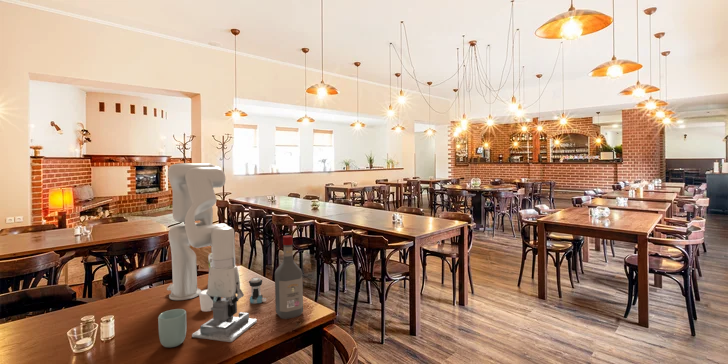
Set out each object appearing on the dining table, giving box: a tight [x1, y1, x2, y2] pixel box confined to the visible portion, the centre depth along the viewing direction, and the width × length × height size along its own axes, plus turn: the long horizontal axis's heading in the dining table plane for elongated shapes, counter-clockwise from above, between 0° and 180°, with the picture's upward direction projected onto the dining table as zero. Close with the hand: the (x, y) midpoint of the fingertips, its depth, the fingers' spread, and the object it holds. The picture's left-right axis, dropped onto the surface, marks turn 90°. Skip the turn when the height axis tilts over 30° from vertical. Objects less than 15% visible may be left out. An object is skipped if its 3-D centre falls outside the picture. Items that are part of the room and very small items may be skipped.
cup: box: [157, 308, 188, 348], centre depth 111 cm, size 8×8×10 cm
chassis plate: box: [191, 311, 258, 343], centre depth 122 cm, size 15×15×4 cm
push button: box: [248, 277, 267, 304], centre depth 145 cm, size 7×5×10 cm
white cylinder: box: [198, 288, 213, 312], centre depth 139 cm, size 7×7×7 cm
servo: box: [211, 297, 238, 321], centre depth 121 cm, size 4×9×6 cm, turn 166°
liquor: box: [274, 234, 304, 320], centre depth 133 cm, size 9×9×30 cm
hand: (225, 314), depth 121 cm, fingers closed on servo, 4 cm apart
